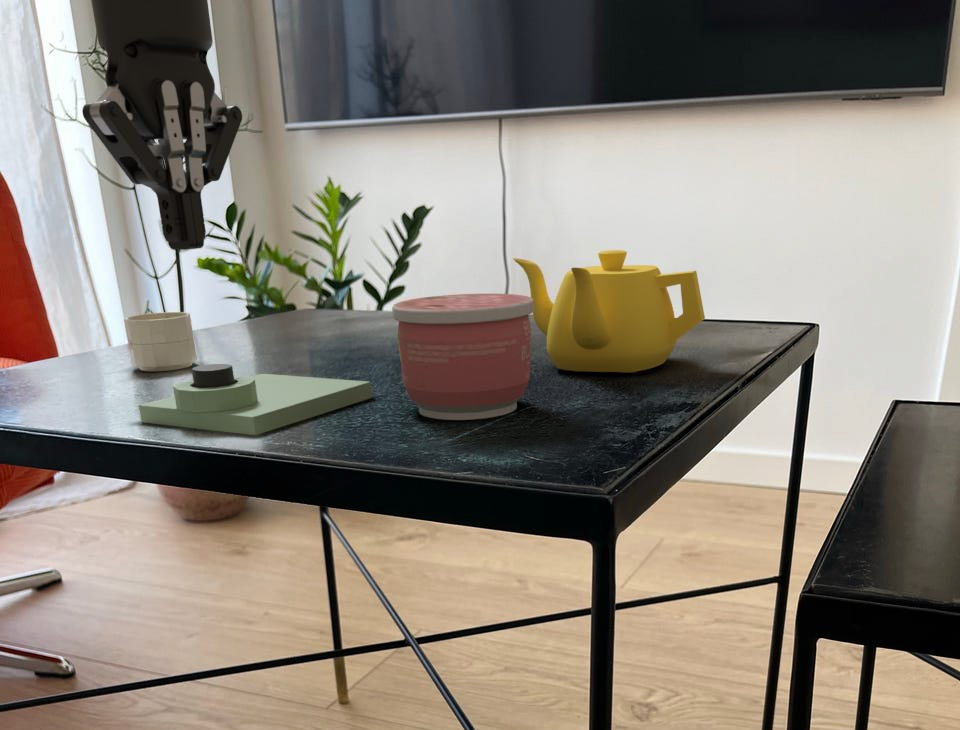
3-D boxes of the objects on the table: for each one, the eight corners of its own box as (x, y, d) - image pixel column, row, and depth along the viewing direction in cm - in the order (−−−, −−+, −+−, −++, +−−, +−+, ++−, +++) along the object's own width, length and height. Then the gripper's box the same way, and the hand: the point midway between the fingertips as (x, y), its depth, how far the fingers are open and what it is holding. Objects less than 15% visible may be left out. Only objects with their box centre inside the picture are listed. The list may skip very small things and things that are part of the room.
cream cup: (164, 374, 100) (155, 321, 98) (120, 370, 103) (110, 319, 101) (211, 363, 105) (203, 312, 103) (167, 360, 108) (159, 311, 106)
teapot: (514, 363, 97) (511, 252, 93) (640, 349, 101) (642, 242, 96) (575, 386, 85) (574, 260, 81) (714, 369, 89) (720, 248, 85)
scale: (251, 437, 73) (245, 395, 72) (137, 424, 79) (129, 385, 78) (372, 398, 84) (369, 361, 83) (264, 389, 90) (259, 354, 89)
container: (457, 391, 85) (452, 291, 82) (562, 403, 79) (561, 295, 76) (371, 416, 78) (362, 307, 74) (480, 431, 72) (475, 313, 68)
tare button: (215, 393, 75) (211, 371, 74) (186, 390, 77) (182, 369, 76) (243, 385, 77) (240, 364, 77) (215, 383, 79) (212, 362, 78)
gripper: (181, -12, 74) (216, 242, 81) (23, -37, 64) (78, 256, 71) (257, -26, 70) (286, 242, 77) (101, -55, 60) (151, 256, 67)
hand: (186, 248), depth 74 cm, fingers closed
